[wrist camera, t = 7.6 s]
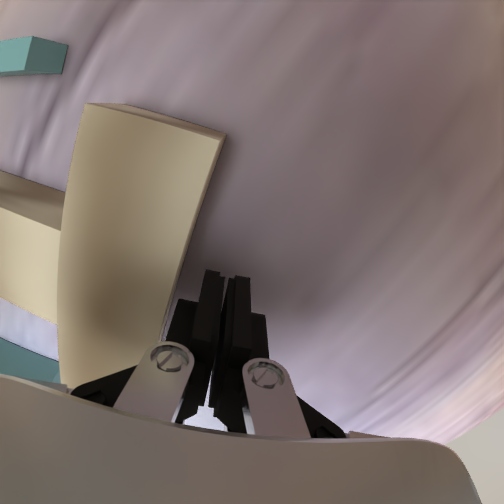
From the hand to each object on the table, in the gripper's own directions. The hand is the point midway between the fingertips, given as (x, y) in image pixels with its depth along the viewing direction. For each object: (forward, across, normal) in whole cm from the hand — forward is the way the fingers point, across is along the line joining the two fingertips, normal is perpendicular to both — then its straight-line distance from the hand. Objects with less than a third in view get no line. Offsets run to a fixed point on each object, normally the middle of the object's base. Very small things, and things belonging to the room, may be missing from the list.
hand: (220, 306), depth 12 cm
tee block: (+1, +8, -1) cm, 8 cm away
